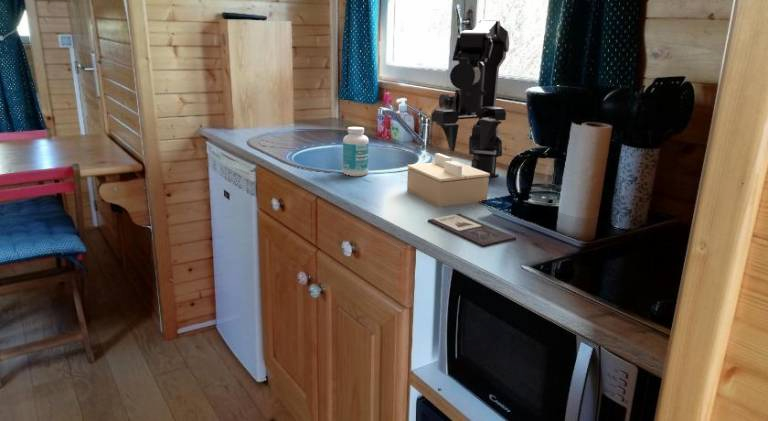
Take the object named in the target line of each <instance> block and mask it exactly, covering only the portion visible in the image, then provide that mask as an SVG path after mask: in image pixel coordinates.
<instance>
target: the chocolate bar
mask: <svg viewBox="0 0 768 421" xmlns="http://www.w3.org/2000/svg"><path fill="white" fill-rule="evenodd" d="M427 223H429V224H431V225H434V226H436V227H438V228H440V229H441V230H444V231H447V232H449V233H451V234H453V235H454V236H457V237H459V238H461V239H463V240H465V241H467V242H470V243H472V244H475V245H477V246H479V247H480V248H487V247H490V246H494V245H495V246H496V245H499V244H503V243H507V242H510V241H516V240H517V237H516V236H514V235H512V234H509V233H508V232H505V231H503V230H500V229H498V228H495V227H493V226H491V225H488V224H486V223H483V222H481V221H478V220H477V219H474V218H471V217H469V216H466V215H463V214H461V213H456V214H450V215H446V216H440V217H435V218H431V219H430V218H429V219H427Z"/></svg>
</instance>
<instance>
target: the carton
mask: <svg viewBox="0 0 768 421" xmlns="http://www.w3.org/2000/svg"><path fill="white" fill-rule="evenodd" d="M489 179H490V177H487V176H486V177H477V178H468V179H466V178H465V179H460V180H451V181H442V182H440V181H437V180H435V179H433V178H431V177H428V176H426V175H424V174H421V173H419V172H417V171H415V170H412V169H410V168H408V167H407V181H406V182H407V186H406V187H407V189H406V191H407V192H409V193H411V194H413V195H415V196H417V197H419V198H421V199H423V200H424V201H427V202H429V203H431V204H433V205H435V206H436V207H439V208H442V207H449V206H457V205H463V204H465V205H466V204H470V203H471V204H472V203H478V202H479V201H480V202H483V201H482V200H487V201H488V195H489V194H488V193H489Z"/></svg>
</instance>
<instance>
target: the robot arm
mask: <svg viewBox="0 0 768 421" xmlns="http://www.w3.org/2000/svg"><path fill="white" fill-rule="evenodd" d="M478 23H479V24H478V25H476V26H475V28H473V29H472V30H462V31H460V34H459V35H458V36H457V39H456V42H455V47H454V51H453V56H452V62H458V64H456V65H454V66H453V68H452V69H451V71H450V73H449V79H450V82H451V84H452V86H454V87H455V88H456V89H455V91H454V95H453V96H450V94H449V93H446V94H443V93H442V94H440V95H439V97H438V106H439V109H434V110H433V111H432V112H431V120H430V121H431V122H435V124H436V125H438V126H440V127H441V129H442V130H443V132H444V134H445V138H446V141H447V144H448V147H449V151H450V152H454V151H455V148H456V145H457V137H458V131H459V127H460V125H459V124H457V122H458V121H459V120H468V119H470V120H471V119H477V121H476V123H475V124H474V125H473V126H472V129H471V133H470V135H469V140H468V141H469V142H468V150H469V153H468V154H469V155H470V156H471V155H472V159H471V166H470V167H473V168H476V169H478V170H481V171H484V172H487V173H490V176H487V177H489V178H495V177H499V176H500V174H498V173H496V171H497V170H496V169H497V159H498V158H499V157H503V140H502V139H501V135H500V129H499V128H500V127H498V126H499V125H501V124H502V123H503V122H502V121H506V119H507V111H506V110H505V108H503V107H498V106H497V93H498V84H499V83H498V82H499V74H500V73H499V71H500V66H502V64H503V62H504V61H505V60H506V58H507V53H508V52H509V51H510V50H509V49H510V37H509V32H508V30H507V29H505V28H504V27H503V26H502V25H501V21H500V20H499V19H496V18H495V19H493V18H492V19H491V18H490V19H489V18H487V19H486V18H483V19H481V20H479V22H478Z"/></svg>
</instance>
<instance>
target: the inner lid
mask: <svg viewBox="0 0 768 421" xmlns="http://www.w3.org/2000/svg"><path fill="white" fill-rule="evenodd" d="M444 161H450V162H453V163H455V164H458V165H461V166H462V175H463V176H465V178H466V179H468V178H477V177H486V176H490V173H487V172H484V171H481V170H478V169H476V168H473V167H471V166H470V165H467V164H464V163H462V162H459V161H456V160H452V157H451V156H448V155H445V154H442V153H439V152H438V153H434V162H431V163H432V164H435V165H437V166H440V167H442V168H444Z"/></svg>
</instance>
